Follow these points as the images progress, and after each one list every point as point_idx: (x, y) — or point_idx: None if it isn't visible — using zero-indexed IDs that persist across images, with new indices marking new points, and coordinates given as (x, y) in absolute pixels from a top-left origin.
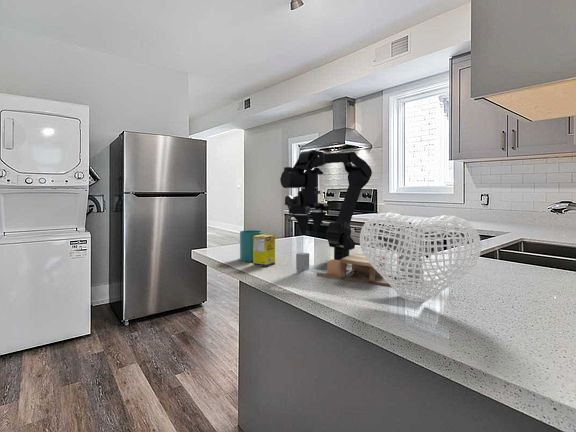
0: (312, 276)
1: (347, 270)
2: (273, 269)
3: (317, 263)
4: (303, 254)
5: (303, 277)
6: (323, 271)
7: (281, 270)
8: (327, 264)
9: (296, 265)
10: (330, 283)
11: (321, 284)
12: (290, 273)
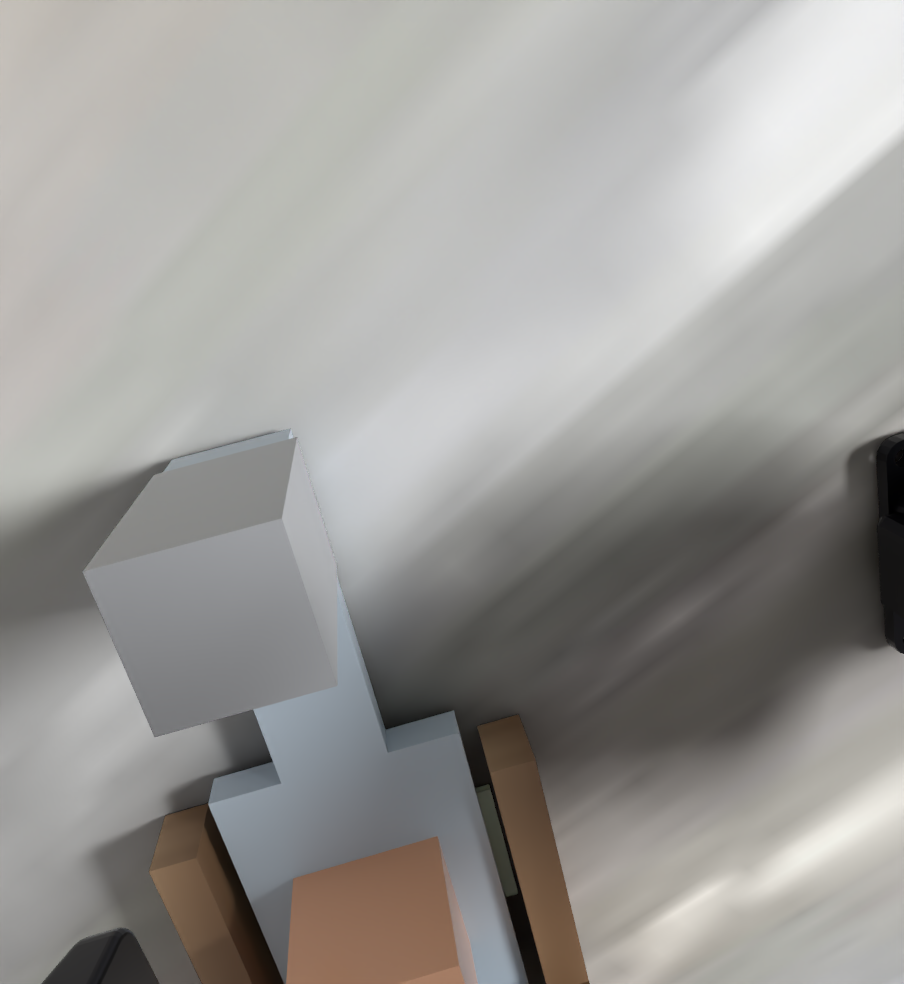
0: None
1: (538, 951)
2: (7, 12)
3: (851, 245)
4: (155, 706)
5: (91, 673)
6: (355, 780)
7: (83, 178)
8: (287, 982)
9: (143, 495)
10: (166, 978)
11: (61, 959)
12: (82, 419)
